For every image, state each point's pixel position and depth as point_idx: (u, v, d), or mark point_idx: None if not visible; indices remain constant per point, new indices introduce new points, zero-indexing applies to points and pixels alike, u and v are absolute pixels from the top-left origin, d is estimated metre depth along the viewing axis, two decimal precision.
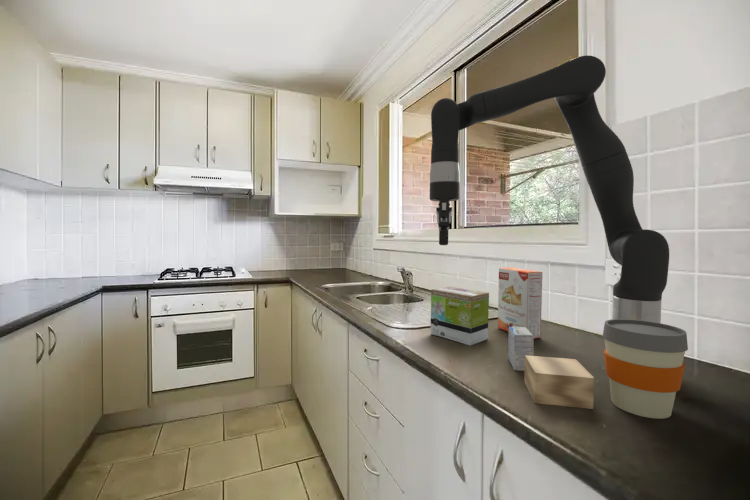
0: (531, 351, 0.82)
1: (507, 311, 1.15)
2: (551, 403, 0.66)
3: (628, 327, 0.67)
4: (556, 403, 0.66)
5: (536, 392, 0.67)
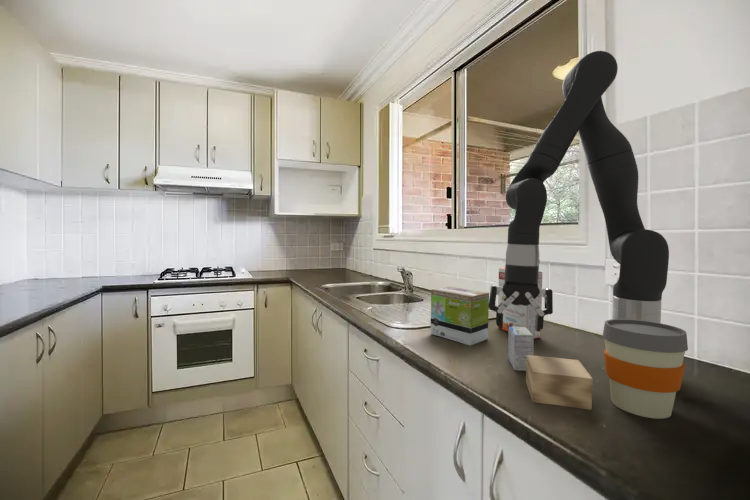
0: (531, 351, 0.82)
1: (506, 311, 1.15)
2: (549, 402, 0.67)
3: (628, 327, 0.67)
4: (553, 403, 0.66)
5: (533, 391, 0.67)
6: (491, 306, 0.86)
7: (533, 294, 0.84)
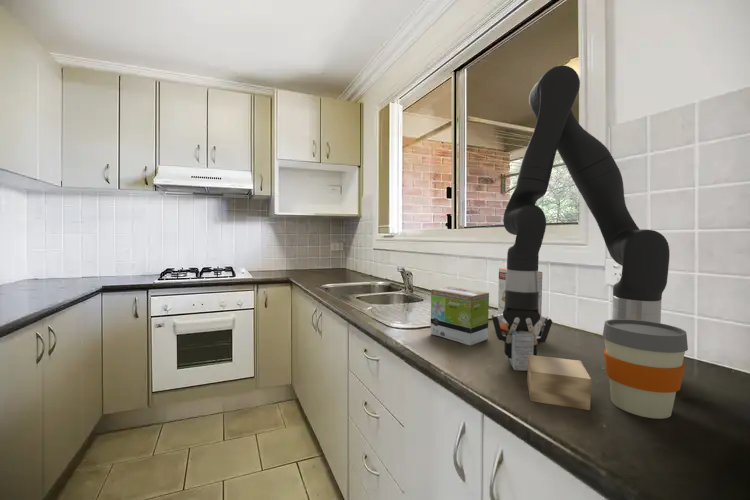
0: (531, 351, 0.82)
1: None
2: (547, 402, 0.67)
3: (628, 327, 0.67)
4: (552, 402, 0.66)
5: (532, 390, 0.68)
6: (499, 336, 0.86)
7: (533, 319, 0.84)
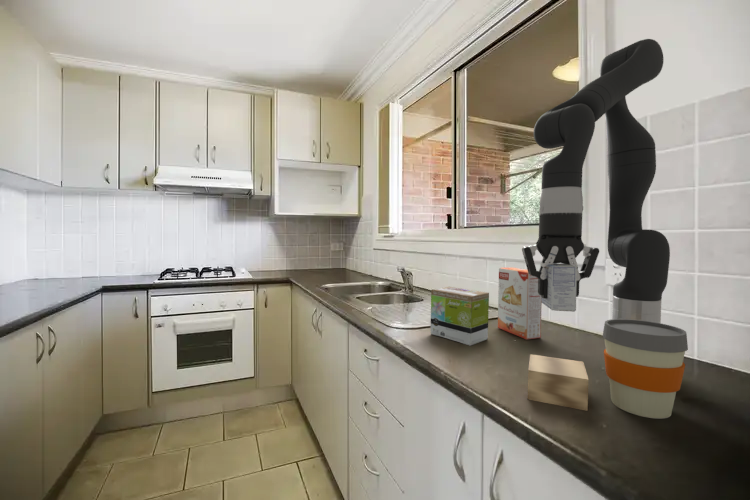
0: (574, 286, 0.66)
1: (507, 311, 1.15)
2: (544, 401, 0.67)
3: (628, 327, 0.67)
4: (549, 402, 0.67)
5: (529, 389, 0.68)
6: (532, 271, 0.70)
7: (575, 248, 0.68)
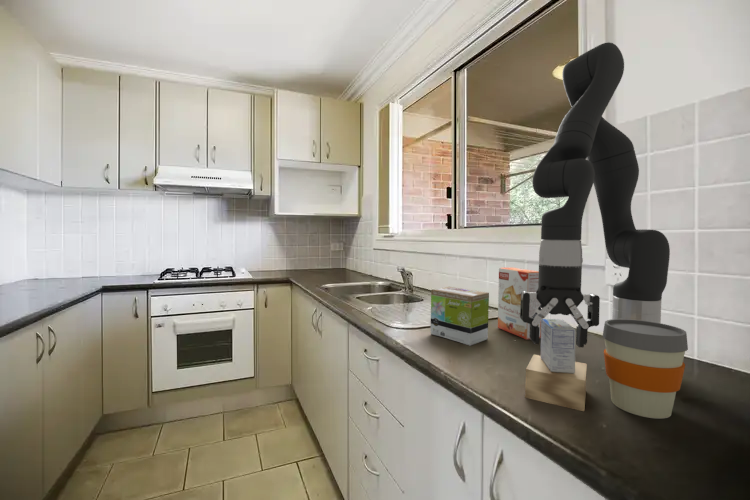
0: (573, 348, 0.66)
1: (507, 311, 1.15)
2: (541, 400, 0.68)
3: (628, 327, 0.67)
4: (546, 401, 0.67)
5: (526, 388, 0.69)
6: (524, 317, 0.70)
7: (575, 301, 0.68)
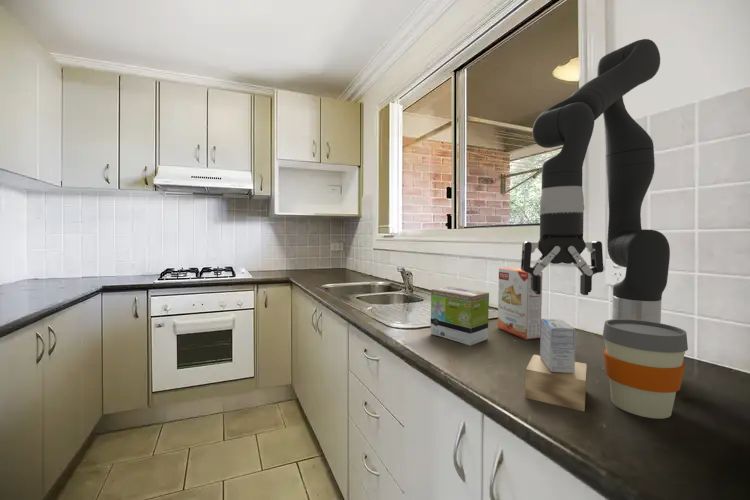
0: (572, 348, 0.66)
1: (507, 311, 1.15)
2: (541, 400, 0.68)
3: (628, 327, 0.67)
4: (546, 401, 0.67)
5: (526, 388, 0.69)
6: (525, 267, 0.69)
7: (578, 249, 0.68)
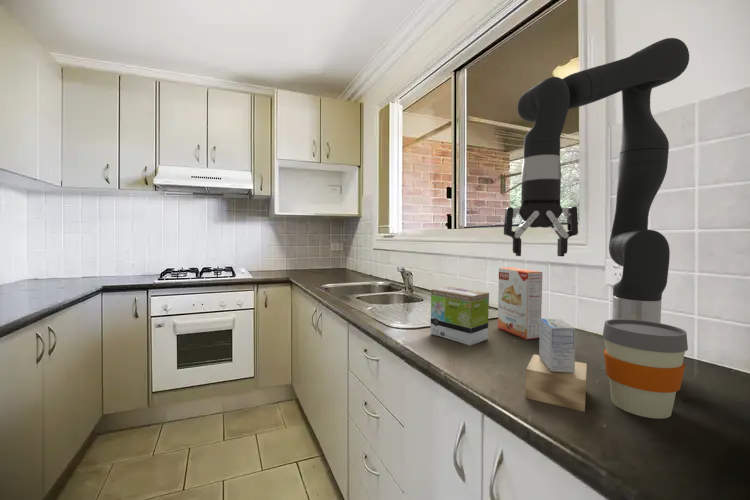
0: (572, 348, 0.66)
1: (507, 311, 1.15)
2: (541, 400, 0.67)
3: (628, 327, 0.67)
4: (546, 401, 0.67)
5: (527, 388, 0.69)
6: (507, 230, 0.75)
7: (555, 213, 0.74)
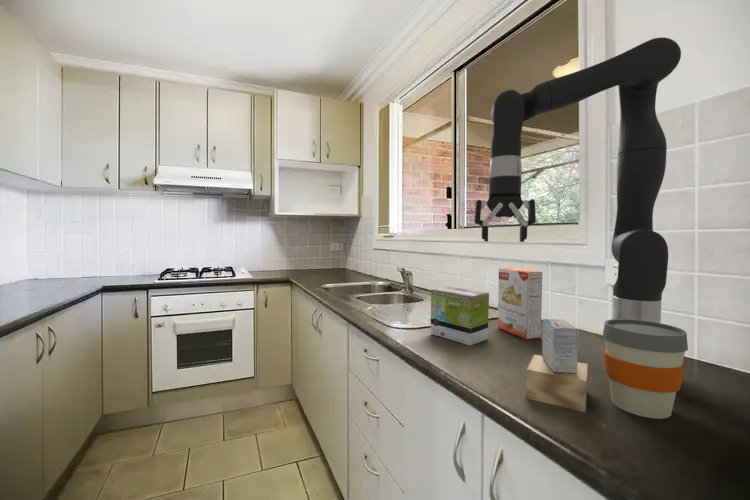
0: (575, 348, 0.66)
1: (507, 311, 1.15)
2: (542, 401, 0.67)
3: (628, 327, 0.67)
4: (547, 402, 0.67)
5: (527, 388, 0.69)
6: (476, 219, 0.89)
7: (516, 205, 0.87)
